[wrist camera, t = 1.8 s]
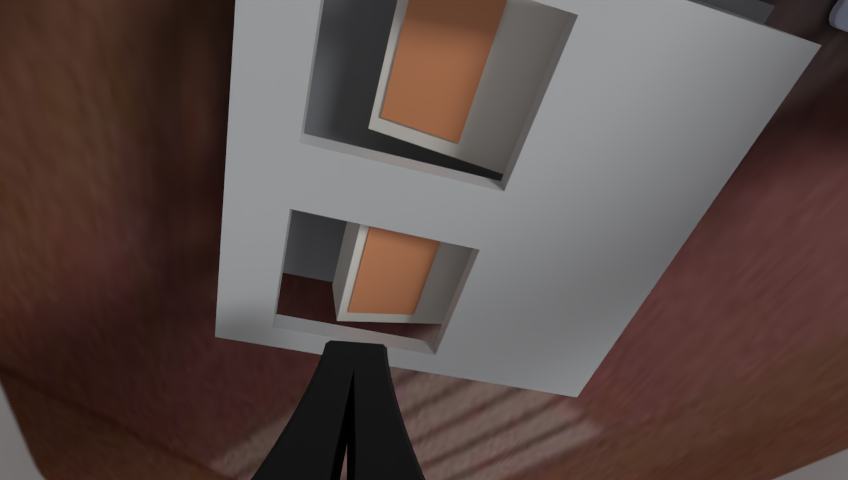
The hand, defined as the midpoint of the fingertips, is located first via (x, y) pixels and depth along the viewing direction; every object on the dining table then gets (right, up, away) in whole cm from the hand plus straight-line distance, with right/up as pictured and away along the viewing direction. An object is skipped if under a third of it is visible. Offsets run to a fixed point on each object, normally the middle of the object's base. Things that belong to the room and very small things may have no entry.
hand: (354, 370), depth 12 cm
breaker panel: (+3, +8, +8) cm, 11 cm away
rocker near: (+4, +8, +2) cm, 9 cm away
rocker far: (+2, +2, +6) cm, 7 cm away
